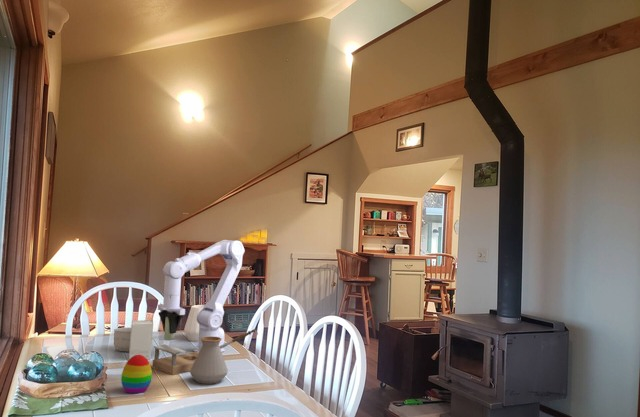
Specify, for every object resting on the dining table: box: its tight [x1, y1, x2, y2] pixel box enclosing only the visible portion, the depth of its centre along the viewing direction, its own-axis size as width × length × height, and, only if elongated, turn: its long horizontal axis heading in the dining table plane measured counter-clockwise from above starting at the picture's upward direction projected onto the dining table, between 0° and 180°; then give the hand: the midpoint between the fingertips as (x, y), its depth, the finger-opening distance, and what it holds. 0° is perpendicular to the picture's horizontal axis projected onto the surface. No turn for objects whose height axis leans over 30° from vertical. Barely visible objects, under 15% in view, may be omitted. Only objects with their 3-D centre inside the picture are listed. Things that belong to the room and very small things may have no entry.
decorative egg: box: [120, 355, 153, 394], centre depth 139 cm, size 8×8×10 cm
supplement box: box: [128, 319, 154, 361], centre depth 175 cm, size 7×7×13 cm
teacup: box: [113, 327, 131, 352], centre depth 184 cm, size 14×11×8 cm
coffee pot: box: [189, 328, 259, 385], centre depth 155 cm, size 21×12×15 cm, turn 121°
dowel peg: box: [163, 316, 175, 341], centre depth 177 cm, size 3×3×8 cm
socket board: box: [151, 344, 199, 376], centre depth 166 cm, size 18×12×7 cm, turn 140°
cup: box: [183, 304, 205, 342], centre depth 209 cm, size 13×13×14 cm
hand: (169, 332), depth 177 cm, fingers closed on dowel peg, 3 cm apart
